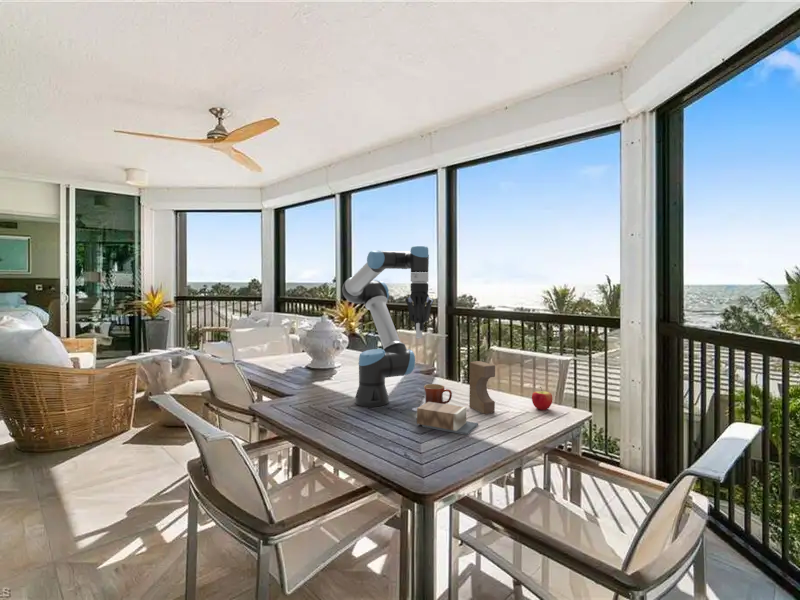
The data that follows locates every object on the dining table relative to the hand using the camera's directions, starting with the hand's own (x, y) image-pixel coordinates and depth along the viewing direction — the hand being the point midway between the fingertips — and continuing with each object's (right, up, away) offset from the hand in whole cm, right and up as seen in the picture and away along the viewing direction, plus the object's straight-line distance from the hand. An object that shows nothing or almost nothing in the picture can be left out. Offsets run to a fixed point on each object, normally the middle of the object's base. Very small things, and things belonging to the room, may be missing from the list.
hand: (419, 338), depth 189 cm
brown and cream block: (+1, -28, -16) cm, 32 cm away
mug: (+8, -31, -1) cm, 32 cm away
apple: (+53, -31, +1) cm, 61 cm away
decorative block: (+27, -31, 0) cm, 41 cm away
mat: (+11, -32, -20) cm, 39 cm away
